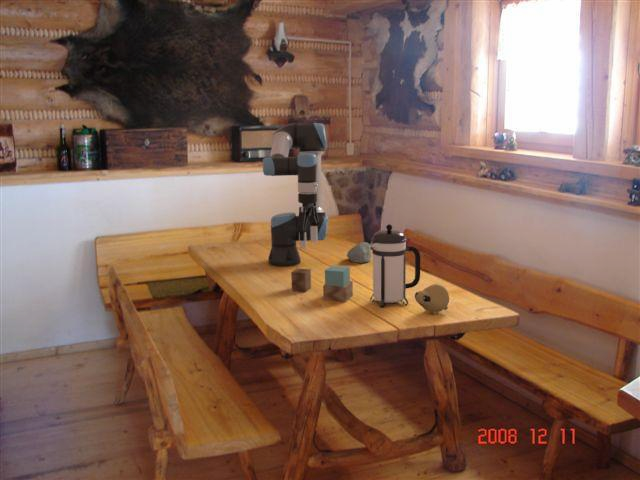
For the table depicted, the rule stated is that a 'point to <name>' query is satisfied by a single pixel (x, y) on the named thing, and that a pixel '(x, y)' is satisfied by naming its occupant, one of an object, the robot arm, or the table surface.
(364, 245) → the decorative stone
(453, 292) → the table surface
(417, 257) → the coffee press
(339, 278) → the tower top
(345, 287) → the tower base
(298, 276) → the walnut block
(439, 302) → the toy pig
